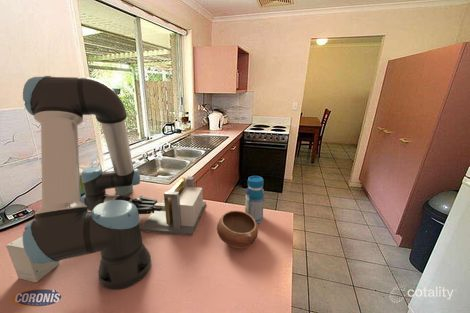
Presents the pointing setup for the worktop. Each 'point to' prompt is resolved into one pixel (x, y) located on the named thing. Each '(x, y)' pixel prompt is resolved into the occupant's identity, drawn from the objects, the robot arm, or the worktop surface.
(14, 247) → the supplement box
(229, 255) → the worktop surface
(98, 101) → the robot arm
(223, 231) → the bowl
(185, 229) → the base
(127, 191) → the drinking glass
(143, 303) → the worktop surface
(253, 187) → the beverage bottle
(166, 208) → the tan rectangular upright panel
